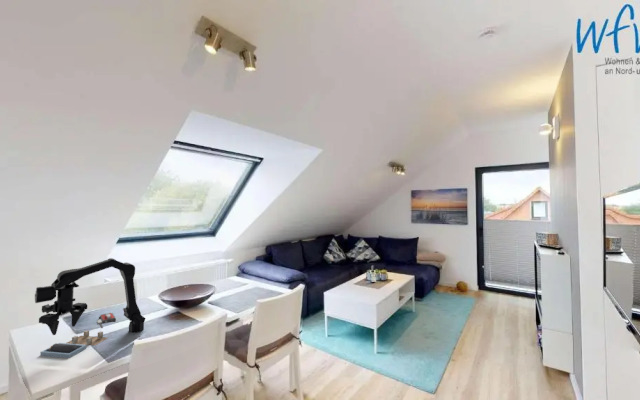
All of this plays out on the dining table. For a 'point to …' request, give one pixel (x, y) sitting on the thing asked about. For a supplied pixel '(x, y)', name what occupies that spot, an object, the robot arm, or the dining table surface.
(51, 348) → the tan-capped grey cylinder
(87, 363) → the dining table surface
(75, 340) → the block
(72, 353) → the tray
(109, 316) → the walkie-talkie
